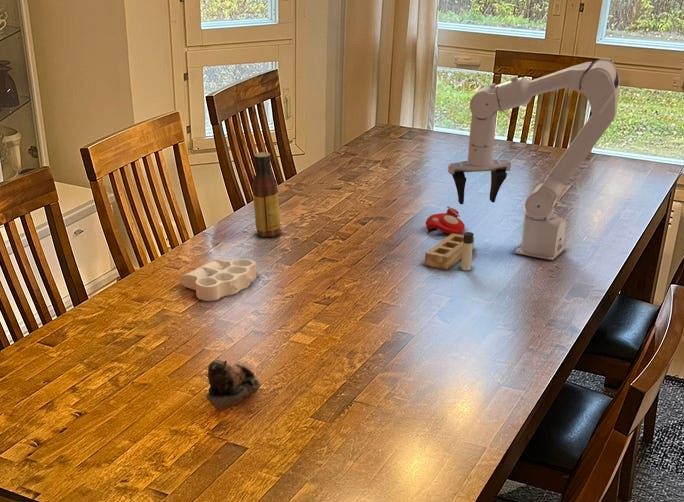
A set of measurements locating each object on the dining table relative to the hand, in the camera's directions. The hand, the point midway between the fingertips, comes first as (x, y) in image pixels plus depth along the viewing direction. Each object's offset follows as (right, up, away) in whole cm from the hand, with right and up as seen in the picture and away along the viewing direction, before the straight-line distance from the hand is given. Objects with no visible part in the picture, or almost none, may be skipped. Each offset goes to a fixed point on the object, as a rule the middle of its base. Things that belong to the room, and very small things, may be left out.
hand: (476, 202), depth 238 cm
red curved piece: (-4, -2, +15) cm, 16 cm away
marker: (-4, -17, -6) cm, 19 cm away
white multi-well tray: (-60, -22, -11) cm, 65 cm away
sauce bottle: (-50, -4, +15) cm, 53 cm away
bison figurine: (-54, -53, -55) cm, 94 cm away
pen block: (-7, -13, 0) cm, 15 cm away
